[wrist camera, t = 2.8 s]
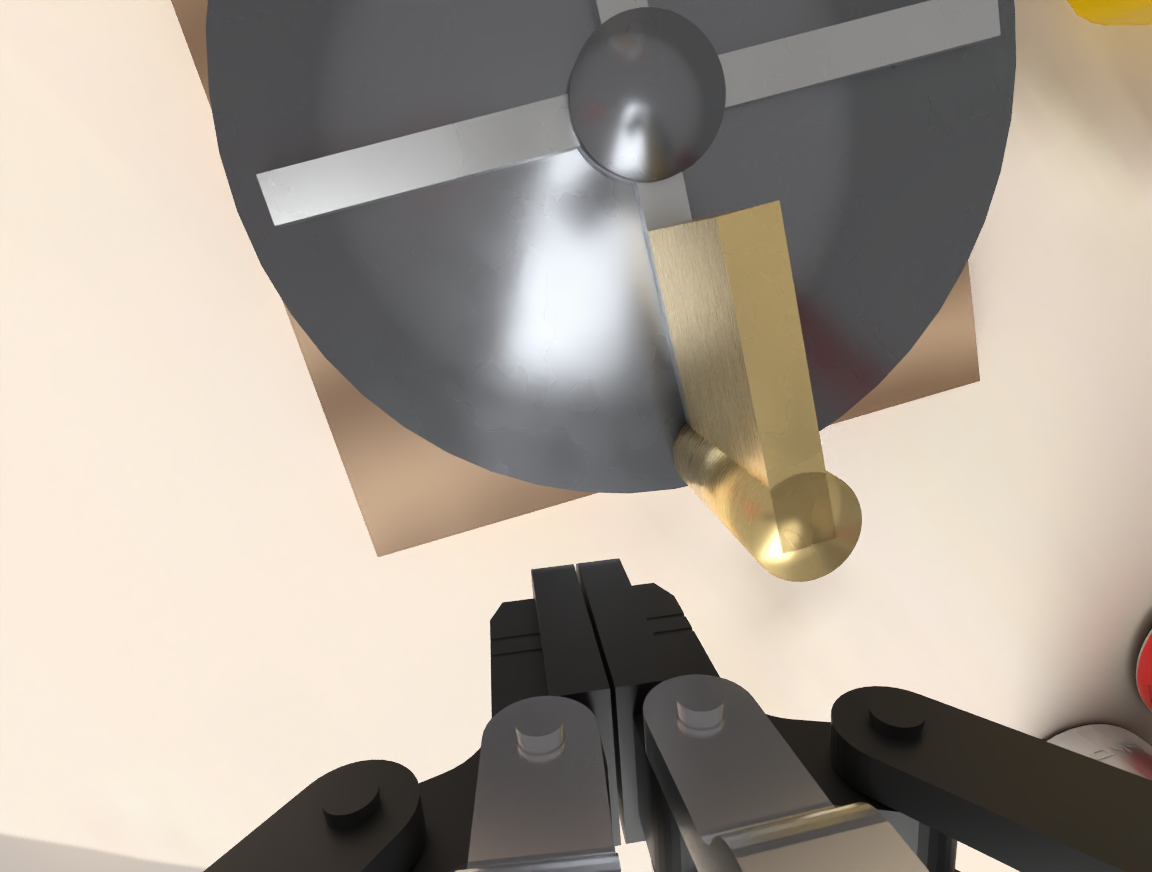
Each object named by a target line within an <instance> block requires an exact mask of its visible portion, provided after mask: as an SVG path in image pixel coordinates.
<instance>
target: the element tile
mask: <svg viewBox="0 0 1152 872" xmlns="http://www.w3.org/2000/svg"><path fill="white" fill-rule="evenodd" d="M1068 2H1069V3H1070V5H1071V6H1072V8H1073V9H1074V11H1075V12H1076V13H1077V15H1079V16H1081V17H1083V18H1084V19H1086V20H1088V21H1090V22H1092V23H1096V24H1101V25H1152V0H1068Z"/></svg>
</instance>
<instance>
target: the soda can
mask: <svg viewBox="0 0 1152 872" xmlns="http://www.w3.org/2000/svg"><path fill="white" fill-rule="evenodd" d="M1136 683H1137V688H1138V692H1139V694H1140V697H1141V699H1142V701H1143V703H1144V704H1145V706H1146V707H1147V708H1148V709H1149V711H1151V712H1152V629H1151V631H1150V632H1149V634H1148V635H1147V637H1146V639H1145V641H1144V643H1143V645H1142V647H1141V650H1140V653H1139V656H1138V660H1137V667H1136Z"/></svg>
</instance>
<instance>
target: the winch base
mask: <svg viewBox="0 0 1152 872" xmlns="http://www.w3.org/2000/svg"><path fill="white" fill-rule="evenodd" d="M171 1H172V4H173V7H174V9H175V12H176V15H177V17H178V20H179V23H180V25H181V28H182V31H183V34H184V36H185V39H186V42H187V44H188V47H189V50H190V52H191V55H192V58H193V60H194V63H195V66H196V69H197V71H198V74H199V77H200V79H201V82H202V85H203V87H204V90H205V93H206V95H207V98H208V101H209V104H210V106H211V102H210V96H209V87H208V67H207V47H206V17H207V4H208V0H171ZM211 109H212V107H211ZM283 303H284V302H283ZM284 306H285V308H286V311H287V314H288V316H289V319H290V322H291V324H292V327H293V330H294V333H295V335H296V338H297V341H298V343H299V346H300V349H301V351H302V354H303V357H304V359H305V362H306V365H307V368H308V370H309V373H310V376H311V378H312V381H313V384H314V386H315V389H316V392H317V395H318V397H319V400H320V403H321V405H322V408H323V411H324V413H325V416H326V419H327V421H328V424H329V427H330V430H331V432H332V435H333V438H334V440H335V443H336V446H337V448H338V451H339V454H340V456H341V459H342V462H343V465H344V467H345V470H346V473H347V475H348V478H349V481H350V483H351V486H352V489H353V491H354V494H355V497H356V500H357V502H358V505H359V508H360V510H361V513H362V516H363V518H364V521H365V524H366V527H367V529H368V532H369V535H370V537H371V540H372V543H373V545H374V548H375V551H376V553H377V556H378V557H380V556H384V555H387V554H390V553H394V552H397V551H401V550H404V549H408V548H411V547H414V546H418V545H421V544H425V543H428V542H431V541H435V540H438V539H442V538H445V537H448V536H452V535H455V534H459V533H462V532H466V531H469V530H472V529H476V528H479V527H483V526H486V525H489V524H493V523H496V522H500V521H503V520H506V519H510V518H513V517H517V516H520V515H524V514H527V513H530V512H534V511H537V510H541V509H544V508H547V507H551V506H554V505H558V504H561V503H565V502H568V501H571V500H575V499H578V498H582V497H585V496H588V495H592V494H595V493H599V492H580V491H574V490H567V489H561V488H554V487H548V486H541V485H536V484H533V483H529V482H526V481H522V480H519V479H515V478H512V477H508V476H505V475H501V474H498V473H494V472H491V471H489V470H487V469H484V468H482V467H480V466H477V465H475V464H473V463H470V462H468V461H466V460H463V459H461V458H459V457H456V456H454V455H452V454H450V453H447V452H445V451H444V450H442V449H440V448H439V447H437V446H435V445H434V444H432V443H430V442H429V441H427V440H425V439H423V438H422V437H420V436H418V435H417V434H415V433H413V432H412V431H410V430H408V429H407V428H405V427H403V426H402V425H401V424H399V423H398V422H397V421H396V420H394V419H393V418H392V417H390V416H389V415H388V414H386V413H385V412H384V411H383V410H381V409H380V408H379V407H377V406H376V405H375V404H374V403H372V402H371V401H370V400H368V399H367V398H366V397H365V396H363V395H362V394H361V393H360V392H359V391H358V390H357V389H356V388H355V387H354V386H353V385H352V384H351V383H350V382H349V381H348V380H347V379H346V378H345V377H344V376H343V375H342V374H341V373H340V372H339V371H338V370H337V369H336V368H335V367H334V366H333V365H332V364H331V363H330V362H329V361H328V360H327V359H326V358H325V357H324V356H323V354H322V353H321V352H320V351H319V349H318V348H317V347H316V345H315V344H314V343H313V342H312V340H311V339H310V338H309V336H308V335H307V334H306V333H305V331H304V330H303V329H302V328H301V326H300V325H299V324H298V322H297V321H296V320H295V319H294V317H293V316H292V315H291V313H290V312H289V310H288V308H287V307H286V305H285V303H284ZM977 381H980V376H979V366H978V356H977V346H976V336H975V327H974V317H973V307H972V297H971V287H970V277H969V268H968V261H967V263H966V265H965V267H964V269H963V271H962V273H961V274H960V276H959V278H958V280H957V281H956V283H955V285H954V287H953V288H952V290H951V292H950V293H949V295H948V297H947V299H946V300H945V302H944V304H943V306H942V307H941V309H940V311H939V312H938V314H937V315H936V316H935V318H934V319H933V320H932V322H931V323H930V324H929V326H928V327H927V329H926V330H925V331H924V333H923V334H922V335H921V337H920V338H919V339H918V341H917V342H916V343H915V345H914V346H913V347H912V349H911V350H910V351H909V352H908V354H907V355H906V356H905V357H904V358H903V359H902V360H901V361H900V362H899V363H898V364H897V365H896V366H895V368H894V369H893V370H892V371H891V372H890V373H889V374H888V375H887V376H886V377H885V378H884V379H883V380H882V381H881V383H880V384H879V385H878V386H877V387H876V388H874V389H873V390H872V391H871V392H870V393H869V394H867V395H866V396H865V397H864V398H863V399H861V400H860V401H859V402H858V403H857V404H856V405H854V406H853V407H852V408H851V409H850V410H849V411H847V412H846V413H845V414H844V415H843V416H842V417H840V418H839V419H837V420H836V421H834V422H833V423H831V424H834V423H838V422H841V421H844V420H848V419H851V418H855V417H858V416H861V415H865V414H868V413H872V412H875V411H878V410H882V409H885V408H889V407H892V406H896V405H899V404H902V403H906V402H909V401H913V400H916V399H919V398H923V397H926V396H930V395H933V394H936V393H940V392H943V391H947V390H950V389H954V388H957V387H960V386H964V385H967V384H971V383H974V382H977ZM831 424H830V425H831Z"/></svg>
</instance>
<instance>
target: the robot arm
mask: <svg viewBox="0 0 1152 872" xmlns="http://www.w3.org/2000/svg"><path fill="white" fill-rule="evenodd" d="M531 576H532V587H533V597H534V599H527V600H519V601H511V602H504V603H502V604H501V606H500V607H499V609H498V610H497V611H496V613H495V614H494V616H493V617H492V619H491V620H490V638H491V697H492V719H491V720H490V721H489V723H488V724H487V726H486V728H485V730H484V732H483V736H482V743H481V748H480V749H479V750H478V751H477V752H476V753H475V754H474V755H473V756H472V757H470V758H469V759H468V760H467V761H465V762H464V763H462V764H461V765H459V766H457V767H456V768H454V769H452V770H450V771H448V772H445V773H443V774H441V775H438V776H436V777H434V778H431V779H429V780H426V781H424V782H421V783H419V784H418V781H417V779H416V777H415V776H414V774H413V773H412V772H411V771H410V770H409V769H408V768H406V767H404V766H403V765H401V764H398V763H395V762H392V761H386V760H366V761H360V762H355V763H351V764H348V765H345V766H342V767H339V768H337V769H335V770H333V771H331V772H328V773H327V774H325V775H323V776H322V777H320V778H318V779H317V780H316V781H314V782H313V783H311V784H310V785H309V786H308V787H306V788H305V789H304V790H303V791H301V792H300V793H299V794H298V795H297V796H295V797H294V798H293V799H292V800H290V801H289V802H288V803H287V804H286V805H284V806H283V807H282V808H281V809H279V810H278V811H277V812H276V813H275V814H273V815H272V816H271V817H270V818H268V819H267V820H266V821H265V822H264V823H262V824H261V825H260V826H259V827H257V828H256V829H255V830H254V831H252V832H251V833H250V834H249V835H248V836H246V837H245V838H244V839H243V840H241V841H240V842H239V843H238V844H237V845H235V846H234V847H233V848H232V849H230V850H229V851H228V852H227V853H226V854H224V855H223V856H222V857H221V858H219V859H218V860H217V861H216V862H215V863H213V864H212V865H211V866H210V867H208V868H207V869H206V870H205V871H204V872H621V869H620V862H619V857H618V853H615V847H614V846H618V845H621V839H620V824H619V817H620V821H621V825H622V830H623V834H624V838H625V842H626V844H628V843H634V842H640V841H646V842H647V846H648V850H649V853H650V857H651V862H652V872H960V871H958V870H956V869H955V861H956V849H957V841H959V842H961V843H963V844H966V845H968V846H970V847H972V848H974V849H976V850H978V851H980V852H982V853H984V854H986V855H988V856H990V857H992V858H994V859H996V860H998V861H1000V862H1002V863H1004V864H1006V865H1008V866H1010V867H1012V868H1014V869H1016V870H1018V871H1020V872H1152V746H1151V745H1149V744H1148V743H1146V742H1145V741H1144V740H1142V739H1141V738H1140V737H1138V736H1137V735H1135V734H1134V733H1132V732H1130V731H1128V730H1126V729H1124V728H1122V727H1118V726H1113V725H1108V724H1093V725H1085V726H1081V727H1077V728H1072V729H1070V730H1067V731H1065V732H1063V733H1060V734H1058V735H1056V736H1054V737H1052V738H1051V739H1049V740H1047V741H1044V740H1041V739H1038V738H1036V737H1033V736H1030V735H1028V734H1025V733H1022V732H1020V731H1017V730H1014V729H1011V728H1009V727H1006V726H1003V725H1001V724H998V723H995V722H993V721H990V720H987V719H984V718H982V717H979V716H976V715H974V714H971V713H968V712H966V711H963V710H960V709H957V708H955V707H952V706H949V705H947V704H944V703H941V702H939V701H936V700H933V699H930V698H928V697H925V696H922V695H920V694H917V693H914V692H911V691H907V690H903V689H898V688H892V687H882V686H872V687H863V688H857V689H854V690H851V691H848V692H847V693H845V694H843V695H841V696H840V697H839V698H838V699H837V700H836V701H835V703H834V704H833V707H832V710H831V722H818V721H806V720H793V719H785V718H779V717H774V716H770V715H767V714H765V713H764V711H763V710H762V709H761V707H760V706H759V705H758V703H757V702H756V701H755V699H754V698H753V697H752V696H751V695H750V694H749V692H747V691H746V690H745V689H744V688H742V687H741V686H739V685H737V684H736V683H734V682H731V681H729V680H727V679H723V678H720V677H719V675H718V673H717V671H716V670H715V668H714V666H713V664H712V662H711V661H710V659H709V657H708V655H707V654H706V652H705V650H704V648H703V646H702V645H701V643H700V641H699V639H698V638H697V636H696V634H695V632H694V631H692V627H691V625H690V623H689V622H688V620H687V618H686V617H684V613H683V611H682V609H681V607H680V606H679V604H678V602H677V600H676V599H675V597H674V596H673V595H672V594H670V593H669V592H667V591H665V590H664V589H662V588H661V587H659V586H658V585H656V584H655V583H649V584H642V585H634V586H631V584H630V581H629V579H628V577H627V575H626V572H625V570H624V568H623V566H622V564H621V561H620V559H611V560H603V561H595V562H587V563H579V564H576V571H575V567H574V565H573V564H572V565H564V566H556V567H548V568H540V569H532V570H531Z"/></svg>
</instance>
